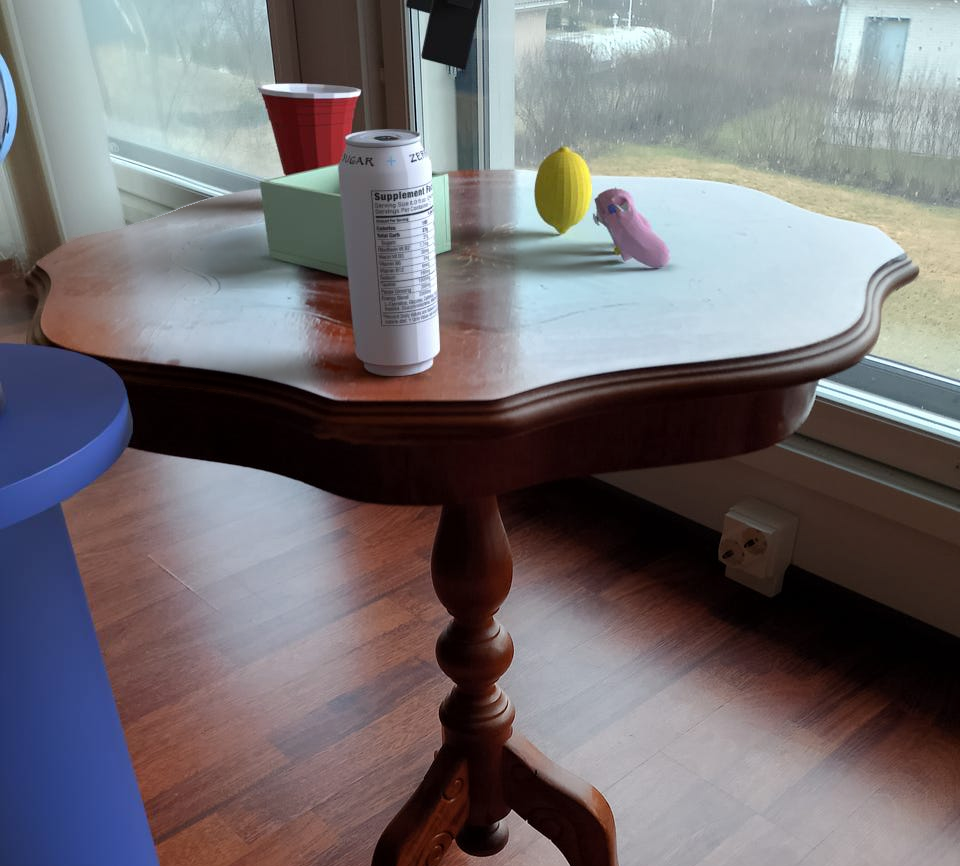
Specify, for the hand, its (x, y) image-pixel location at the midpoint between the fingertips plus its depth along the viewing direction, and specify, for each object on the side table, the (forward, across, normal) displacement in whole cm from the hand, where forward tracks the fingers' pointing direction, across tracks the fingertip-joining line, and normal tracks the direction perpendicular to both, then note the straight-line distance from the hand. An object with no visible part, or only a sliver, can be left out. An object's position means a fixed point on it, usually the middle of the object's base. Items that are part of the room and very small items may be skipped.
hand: (433, 36), depth 70 cm
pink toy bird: (+17, +17, -24) cm, 34 cm away
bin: (+24, +23, -1) cm, 33 cm away
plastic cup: (+28, +45, +2) cm, 53 cm away
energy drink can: (+20, -7, -1) cm, 21 cm away
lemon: (+19, +26, -20) cm, 38 cm away
